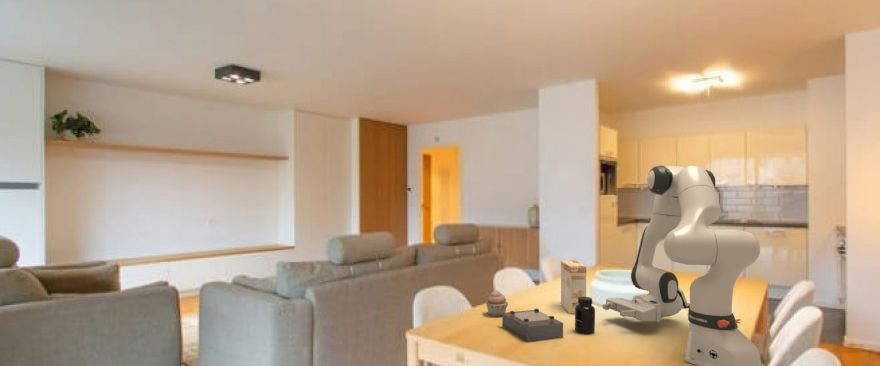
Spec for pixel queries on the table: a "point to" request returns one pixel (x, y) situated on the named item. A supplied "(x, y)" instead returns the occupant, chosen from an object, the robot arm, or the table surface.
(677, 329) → the table surface
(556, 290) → the table surface
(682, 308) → the grey curved wedge
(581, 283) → the coffeecake box
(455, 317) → the table surface
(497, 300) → the cupcake
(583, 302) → the supplement bottle
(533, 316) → the box
